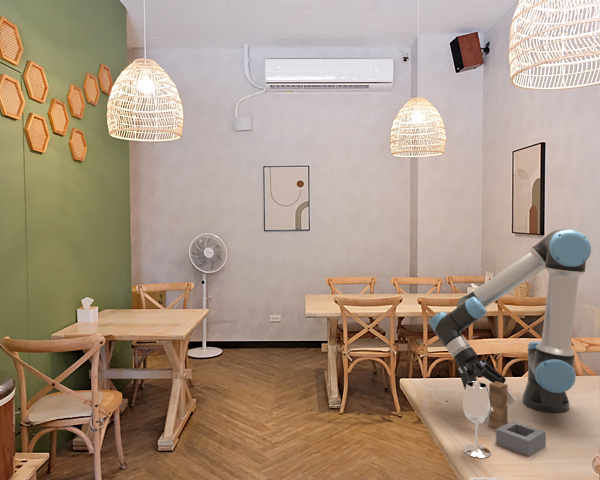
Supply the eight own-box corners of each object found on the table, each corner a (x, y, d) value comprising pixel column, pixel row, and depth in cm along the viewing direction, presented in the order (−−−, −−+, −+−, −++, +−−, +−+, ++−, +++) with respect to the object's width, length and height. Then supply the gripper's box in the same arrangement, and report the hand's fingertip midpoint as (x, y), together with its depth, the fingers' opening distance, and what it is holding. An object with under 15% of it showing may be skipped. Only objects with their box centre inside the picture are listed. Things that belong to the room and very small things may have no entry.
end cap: (513, 434, 147) (513, 420, 147) (545, 446, 139) (545, 431, 139) (496, 443, 141) (496, 429, 141) (528, 456, 133) (528, 441, 133)
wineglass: (458, 446, 140) (458, 380, 139) (483, 444, 141) (483, 379, 140) (469, 459, 132) (469, 389, 132) (496, 457, 133) (496, 388, 132)
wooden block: (496, 422, 156) (496, 381, 156) (507, 426, 153) (507, 384, 153) (489, 425, 154) (489, 383, 154) (500, 429, 151) (500, 387, 150)
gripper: (475, 351, 173) (514, 403, 162) (433, 364, 159) (472, 422, 147) (488, 340, 169) (529, 393, 157) (446, 352, 154) (487, 411, 143)
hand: (502, 407), depth 152 cm, fingers open, 13 cm apart
